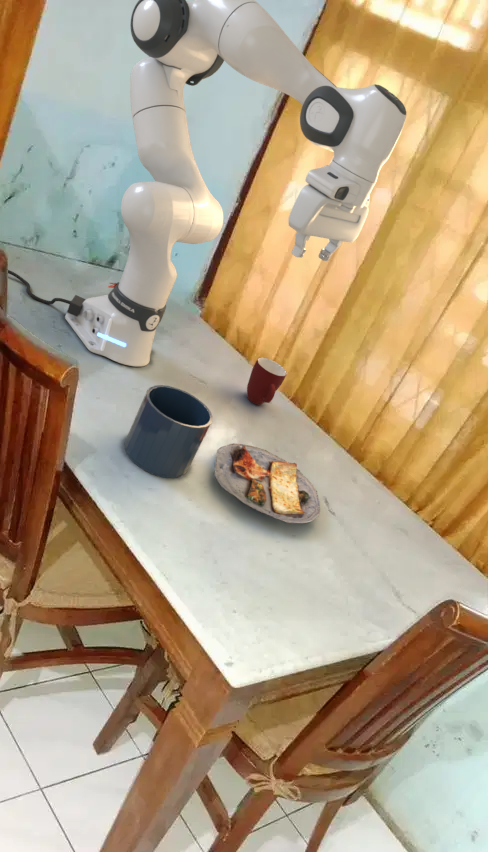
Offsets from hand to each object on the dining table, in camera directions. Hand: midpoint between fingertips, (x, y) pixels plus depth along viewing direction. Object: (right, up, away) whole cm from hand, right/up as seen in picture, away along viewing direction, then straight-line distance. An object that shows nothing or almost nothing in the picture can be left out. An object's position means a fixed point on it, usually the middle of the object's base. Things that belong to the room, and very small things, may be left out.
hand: (309, 257), depth 137 cm
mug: (-10, -22, +43) cm, 49 cm away
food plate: (-9, -44, +12) cm, 46 cm away
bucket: (-30, -37, +3) cm, 48 cm away
